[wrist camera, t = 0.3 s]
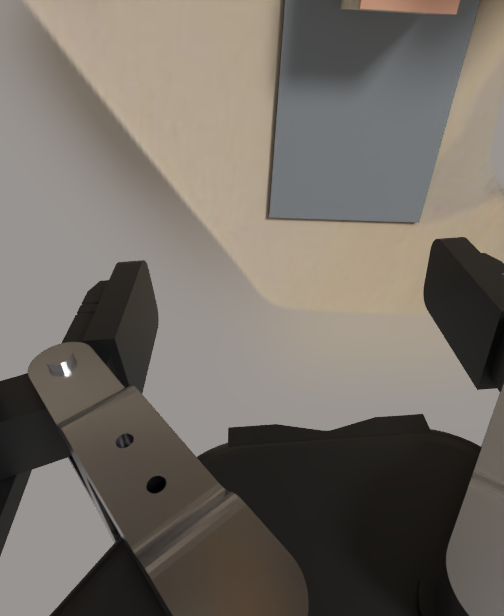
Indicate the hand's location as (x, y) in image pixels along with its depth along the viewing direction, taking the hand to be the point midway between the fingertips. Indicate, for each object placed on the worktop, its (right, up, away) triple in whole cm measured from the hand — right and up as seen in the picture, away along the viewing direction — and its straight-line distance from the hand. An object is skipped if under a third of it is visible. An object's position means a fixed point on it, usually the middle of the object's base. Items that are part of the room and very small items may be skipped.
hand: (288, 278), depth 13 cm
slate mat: (+8, +17, +22) cm, 29 cm away
